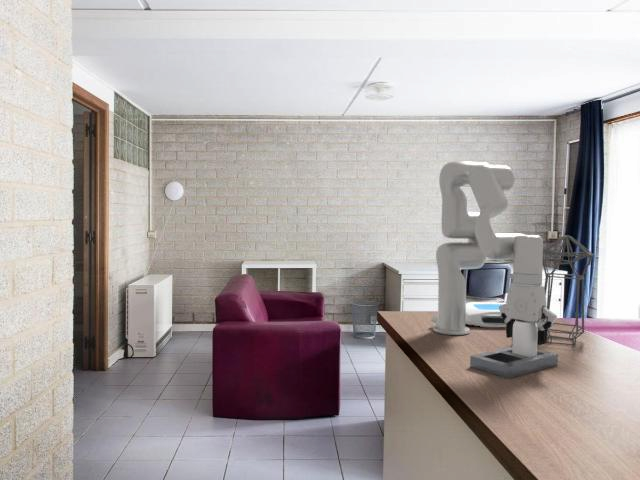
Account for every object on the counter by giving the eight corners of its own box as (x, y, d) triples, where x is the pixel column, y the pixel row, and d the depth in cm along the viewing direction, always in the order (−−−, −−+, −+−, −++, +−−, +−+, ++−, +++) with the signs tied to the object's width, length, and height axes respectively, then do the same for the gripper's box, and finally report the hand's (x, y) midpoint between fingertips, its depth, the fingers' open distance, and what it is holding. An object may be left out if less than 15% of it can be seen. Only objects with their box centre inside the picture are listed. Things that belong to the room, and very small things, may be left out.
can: (508, 359, 146) (508, 318, 145) (529, 359, 146) (530, 317, 146) (518, 366, 139) (519, 322, 139) (541, 365, 140) (542, 322, 139)
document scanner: (543, 328, 188) (544, 312, 187) (467, 328, 188) (467, 311, 188) (522, 317, 209) (522, 302, 208) (453, 316, 209) (454, 301, 209)
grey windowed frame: (470, 366, 138) (470, 355, 138) (519, 354, 151) (519, 344, 151) (508, 378, 129) (508, 366, 128) (557, 364, 141) (558, 353, 141)
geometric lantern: (536, 334, 178) (541, 234, 177) (586, 340, 172) (592, 236, 170) (534, 343, 164) (540, 234, 162) (589, 350, 157) (596, 237, 156)
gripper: (492, 277, 147) (491, 336, 147) (548, 283, 132) (546, 349, 133) (508, 275, 151) (507, 333, 152) (564, 282, 136) (562, 345, 137)
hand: (525, 340), depth 142 cm, fingers open, 9 cm apart
